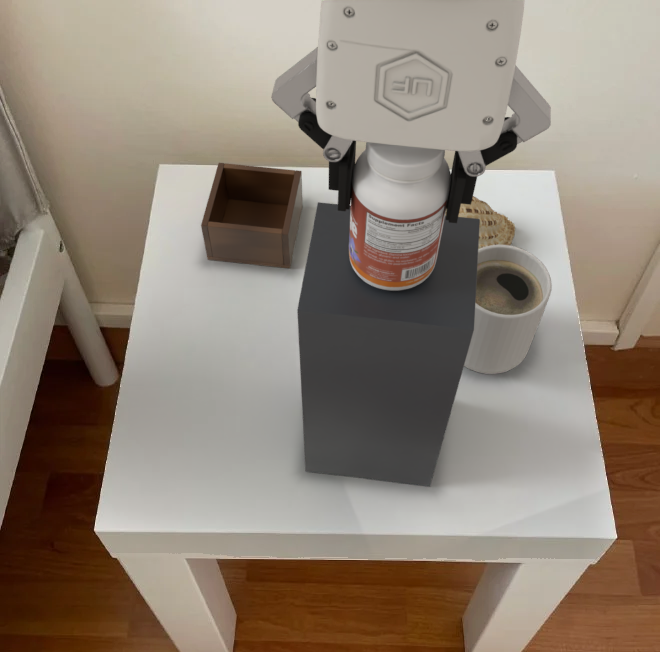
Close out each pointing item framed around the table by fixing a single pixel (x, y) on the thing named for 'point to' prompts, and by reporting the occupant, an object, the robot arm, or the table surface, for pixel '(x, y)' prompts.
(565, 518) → the table surface
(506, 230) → the seashell
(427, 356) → the block
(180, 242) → the table surface
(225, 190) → the wooden box
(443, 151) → the pill bottle
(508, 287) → the mug
